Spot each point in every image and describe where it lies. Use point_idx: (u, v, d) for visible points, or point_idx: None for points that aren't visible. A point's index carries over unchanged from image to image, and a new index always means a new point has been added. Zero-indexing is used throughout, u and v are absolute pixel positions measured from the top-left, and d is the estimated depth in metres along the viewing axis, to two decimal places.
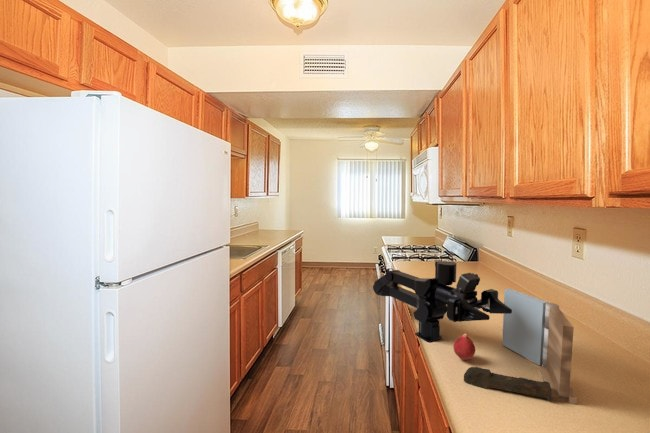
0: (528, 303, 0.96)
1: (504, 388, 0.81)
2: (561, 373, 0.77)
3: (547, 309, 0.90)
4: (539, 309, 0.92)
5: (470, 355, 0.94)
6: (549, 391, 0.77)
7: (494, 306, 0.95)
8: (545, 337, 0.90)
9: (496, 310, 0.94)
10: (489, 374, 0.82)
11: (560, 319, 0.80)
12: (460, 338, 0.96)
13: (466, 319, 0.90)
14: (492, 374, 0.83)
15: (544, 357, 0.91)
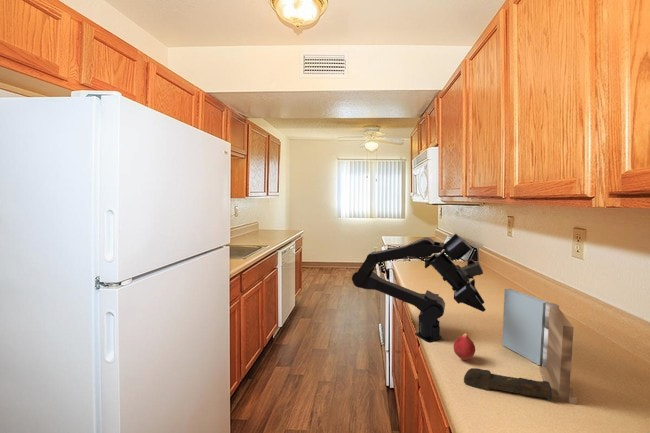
0: (528, 303, 0.96)
1: (505, 389, 0.81)
2: (561, 373, 0.77)
3: (547, 309, 0.90)
4: (539, 309, 0.92)
5: (470, 355, 0.94)
6: (549, 391, 0.78)
7: None
8: (545, 337, 0.90)
9: None
10: (489, 375, 0.82)
11: (560, 319, 0.80)
12: (460, 338, 0.96)
13: (466, 303, 1.01)
14: (492, 375, 0.83)
15: (544, 357, 0.91)
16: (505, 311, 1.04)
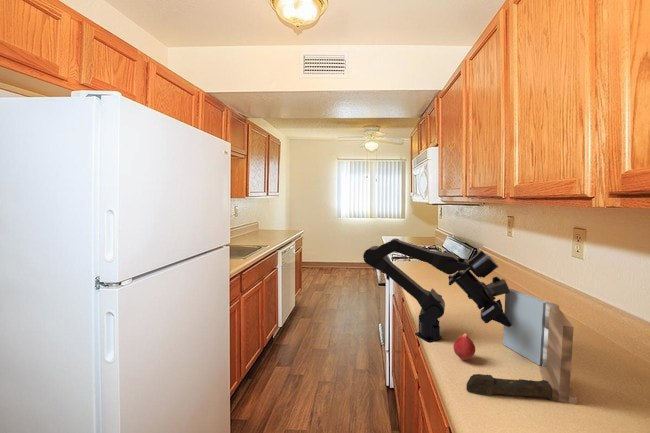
0: (528, 303, 0.96)
1: (508, 393, 0.79)
2: (561, 373, 0.77)
3: (547, 309, 0.90)
4: (539, 309, 0.92)
5: (470, 355, 0.94)
6: (550, 390, 0.78)
7: None
8: (545, 337, 0.90)
9: None
10: (493, 380, 0.80)
11: (560, 319, 0.80)
12: (460, 338, 0.96)
13: None
14: (495, 379, 0.81)
15: (544, 357, 0.91)
16: (505, 311, 1.04)
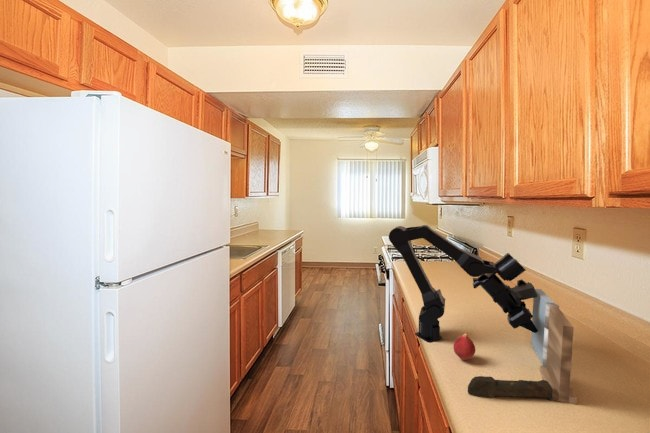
0: (541, 302, 0.96)
1: (509, 394, 0.79)
2: (561, 373, 0.77)
3: (547, 309, 0.90)
4: (544, 308, 0.93)
5: (470, 355, 0.94)
6: (550, 390, 0.78)
7: None
8: (544, 336, 0.91)
9: None
10: (494, 382, 0.79)
11: (560, 319, 0.80)
12: (460, 338, 0.96)
13: None
14: (496, 381, 0.80)
15: (544, 357, 0.91)
16: (533, 311, 1.04)
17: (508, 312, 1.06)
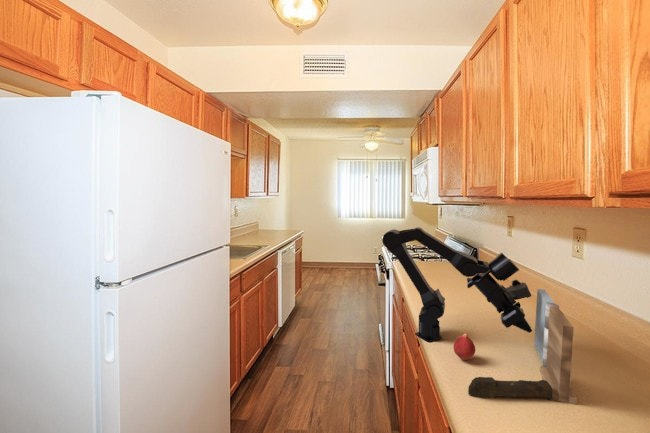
0: (542, 302, 0.96)
1: (509, 395, 0.79)
2: (561, 373, 0.77)
3: (547, 309, 0.90)
4: (545, 308, 0.93)
5: (470, 355, 0.94)
6: (550, 390, 0.78)
7: None
8: (544, 335, 0.91)
9: None
10: (495, 383, 0.79)
11: (560, 319, 0.80)
12: (460, 338, 0.96)
13: None
14: (496, 382, 0.80)
15: (544, 357, 0.91)
16: (536, 311, 1.04)
17: None
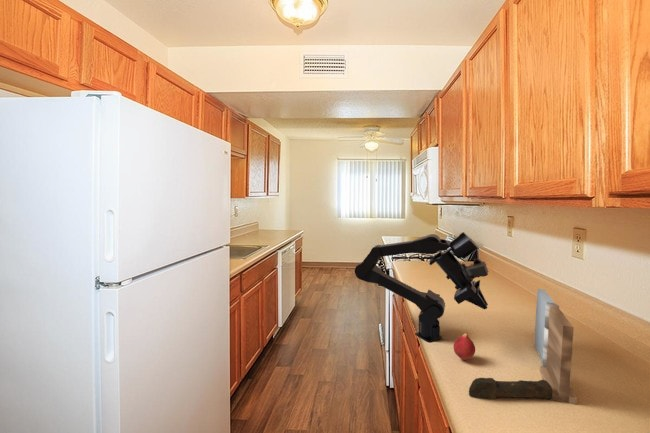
0: (542, 302, 0.96)
1: (510, 395, 0.79)
2: (561, 373, 0.77)
3: (547, 309, 0.90)
4: (545, 308, 0.93)
5: (470, 355, 0.94)
6: (550, 390, 0.78)
7: None
8: (544, 335, 0.91)
9: None
10: (495, 383, 0.79)
11: (560, 319, 0.80)
12: (460, 338, 0.96)
13: (468, 300, 1.03)
14: (496, 382, 0.80)
15: (544, 357, 0.91)
16: (536, 311, 1.04)
17: None
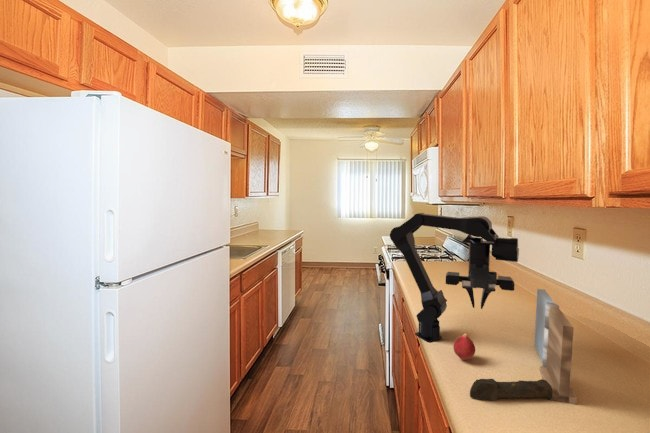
0: (542, 302, 0.96)
1: (511, 396, 0.78)
2: (561, 373, 0.77)
3: (547, 309, 0.90)
4: (545, 308, 0.93)
5: (470, 355, 0.94)
6: (550, 389, 0.78)
7: (483, 291, 1.02)
8: (544, 335, 0.91)
9: (482, 292, 1.03)
10: (496, 384, 0.78)
11: (560, 319, 0.80)
12: (460, 338, 0.96)
13: None
14: (497, 383, 0.79)
15: (544, 357, 0.91)
16: (536, 311, 1.04)
17: None
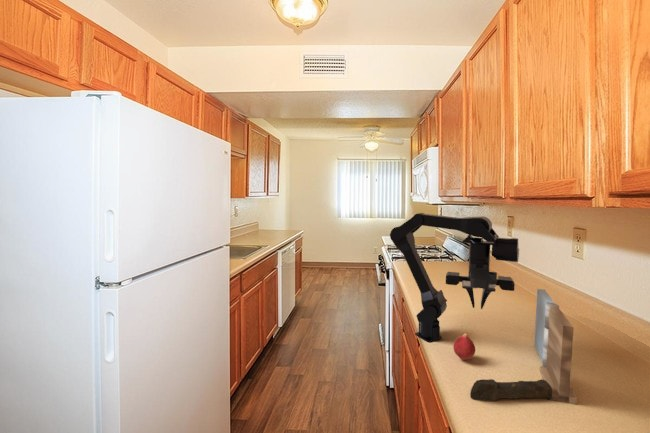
0: (542, 302, 0.96)
1: (511, 396, 0.78)
2: (561, 373, 0.77)
3: (547, 309, 0.90)
4: (545, 308, 0.93)
5: (470, 355, 0.94)
6: (550, 390, 0.78)
7: (483, 291, 1.02)
8: (544, 335, 0.91)
9: (482, 292, 1.02)
10: (497, 385, 0.78)
11: (560, 319, 0.80)
12: (460, 338, 0.96)
13: None
14: (497, 384, 0.79)
15: (544, 357, 0.91)
16: (536, 311, 1.04)
17: None
